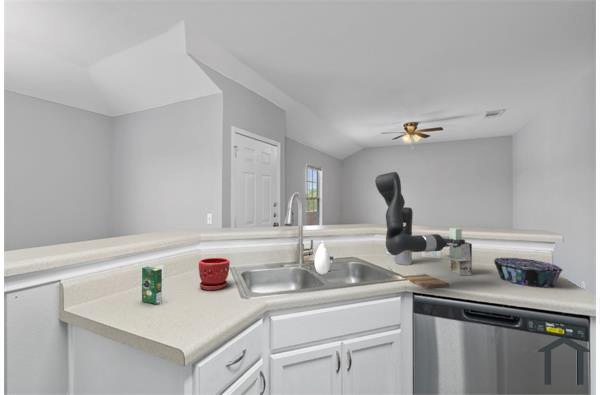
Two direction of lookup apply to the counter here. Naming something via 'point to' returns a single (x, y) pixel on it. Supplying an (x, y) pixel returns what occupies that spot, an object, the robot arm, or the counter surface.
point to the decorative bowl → (527, 272)
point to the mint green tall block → (456, 252)
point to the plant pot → (213, 273)
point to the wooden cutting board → (427, 281)
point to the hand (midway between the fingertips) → (460, 241)
